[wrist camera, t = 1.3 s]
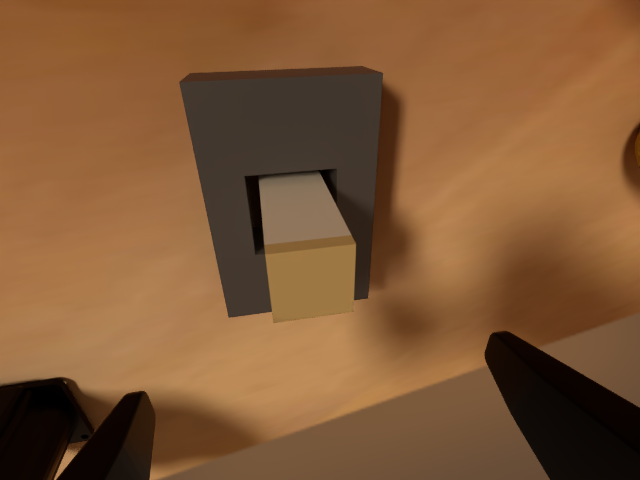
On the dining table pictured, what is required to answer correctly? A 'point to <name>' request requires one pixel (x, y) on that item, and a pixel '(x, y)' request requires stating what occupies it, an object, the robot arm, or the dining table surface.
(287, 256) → the plug
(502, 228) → the dining table surface
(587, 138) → the dining table surface
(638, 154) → the lemon
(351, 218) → the block
